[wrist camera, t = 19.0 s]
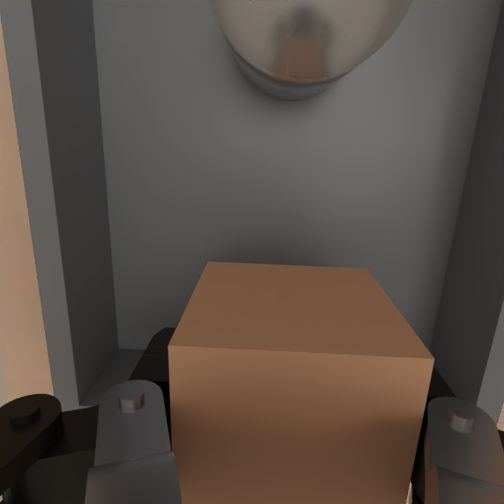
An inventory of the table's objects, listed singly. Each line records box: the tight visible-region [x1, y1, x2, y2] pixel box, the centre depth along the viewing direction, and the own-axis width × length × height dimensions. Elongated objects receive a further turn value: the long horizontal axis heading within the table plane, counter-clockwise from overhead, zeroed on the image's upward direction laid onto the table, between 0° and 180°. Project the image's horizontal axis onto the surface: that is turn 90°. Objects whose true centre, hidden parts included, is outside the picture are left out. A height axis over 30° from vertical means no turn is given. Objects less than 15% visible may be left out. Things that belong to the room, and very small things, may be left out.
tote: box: [0, 0, 504, 426], centre depth 15 cm, size 24×18×5 cm
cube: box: [168, 262, 435, 504], centre depth 10 cm, size 5×5×5 cm
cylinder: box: [209, 0, 413, 101], centre depth 12 cm, size 5×5×7 cm
